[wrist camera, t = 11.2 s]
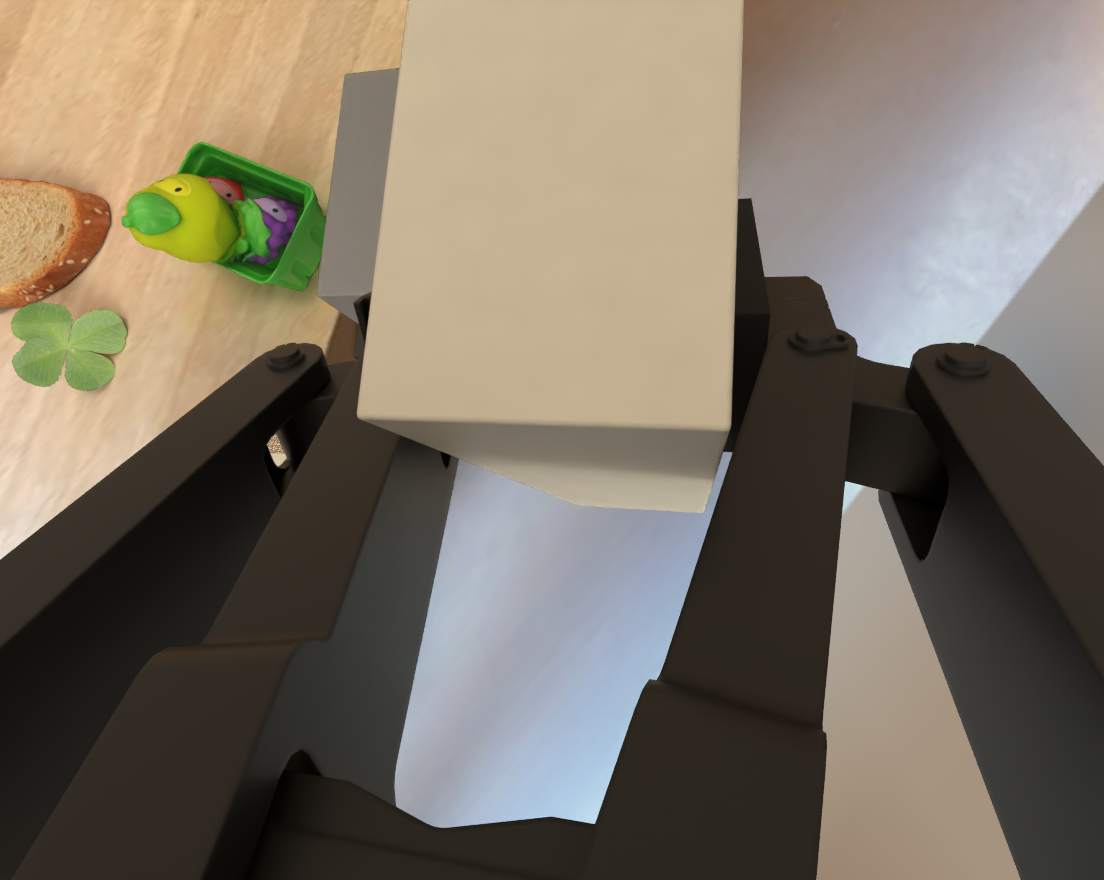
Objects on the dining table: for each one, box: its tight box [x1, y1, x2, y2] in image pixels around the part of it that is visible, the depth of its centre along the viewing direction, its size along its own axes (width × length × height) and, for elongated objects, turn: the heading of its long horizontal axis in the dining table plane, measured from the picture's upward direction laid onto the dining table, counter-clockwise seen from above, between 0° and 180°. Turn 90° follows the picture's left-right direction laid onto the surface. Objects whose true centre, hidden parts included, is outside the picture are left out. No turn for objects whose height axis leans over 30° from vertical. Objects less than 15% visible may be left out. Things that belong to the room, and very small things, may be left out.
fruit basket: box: [122, 142, 326, 291], centre depth 43 cm, size 11×9×11 cm
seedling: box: [11, 302, 127, 391], centre depth 50 cm, size 7×8×6 cm
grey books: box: [317, 68, 400, 359], centre depth 37 cm, size 19×12×15 cm, turn 86°
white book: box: [357, 0, 744, 513], centre depth 14 cm, size 4×12×14 cm, turn 176°
